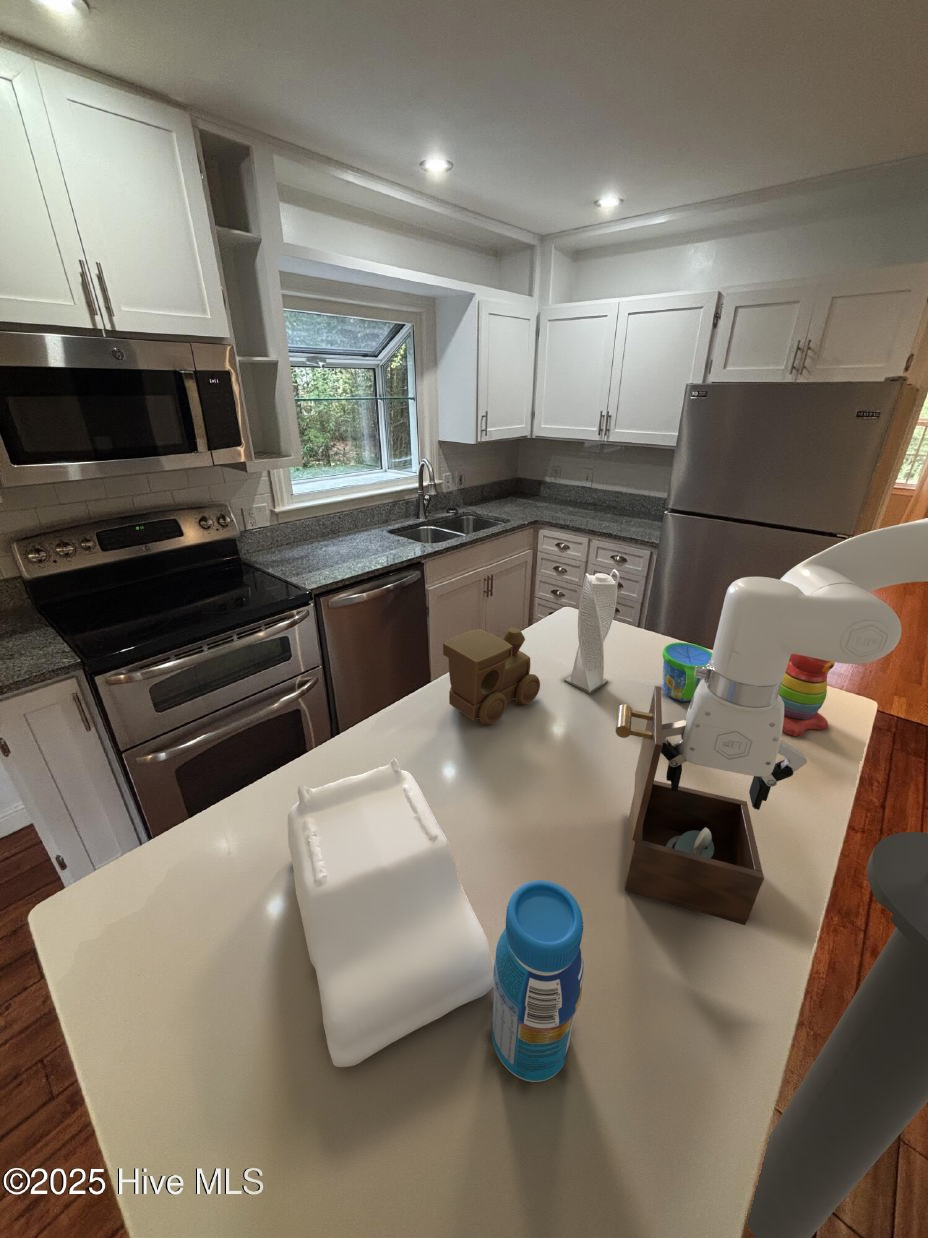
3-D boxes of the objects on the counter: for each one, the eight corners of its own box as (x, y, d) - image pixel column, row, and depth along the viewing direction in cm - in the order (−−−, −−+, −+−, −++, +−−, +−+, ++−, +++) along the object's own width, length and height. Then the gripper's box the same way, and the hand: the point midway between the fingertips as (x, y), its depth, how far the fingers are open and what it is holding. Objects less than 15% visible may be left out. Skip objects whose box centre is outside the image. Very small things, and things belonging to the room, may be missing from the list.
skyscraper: (612, 684, 113) (632, 568, 101) (592, 698, 108) (610, 577, 96) (581, 670, 119) (596, 558, 107) (561, 682, 114) (574, 566, 102)
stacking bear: (791, 738, 97) (820, 659, 89) (749, 709, 105) (772, 634, 98) (832, 728, 100) (863, 650, 92) (788, 700, 108) (813, 627, 101)
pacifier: (658, 867, 70) (705, 888, 67) (665, 834, 67) (714, 855, 64) (670, 831, 75) (714, 849, 72) (677, 800, 73) (722, 817, 70)
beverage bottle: (473, 1038, 52) (477, 914, 43) (521, 974, 58) (533, 854, 49) (540, 1110, 47) (559, 987, 38) (586, 1033, 52) (612, 910, 44)
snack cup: (707, 719, 102) (718, 677, 98) (653, 707, 106) (661, 666, 101) (705, 681, 115) (715, 642, 111) (657, 671, 119) (664, 633, 114)
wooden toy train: (477, 737, 96) (479, 663, 89) (439, 710, 104) (439, 640, 96) (544, 698, 108) (551, 630, 101) (506, 676, 116) (510, 612, 109)
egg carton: (410, 806, 80) (407, 740, 74) (504, 991, 56) (510, 914, 50) (287, 849, 73) (273, 779, 67) (333, 1086, 48) (317, 1008, 43)
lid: (661, 686, 67) (622, 679, 69) (662, 745, 56) (616, 735, 58) (640, 774, 74) (605, 766, 76) (638, 842, 63) (597, 831, 65)
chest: (731, 845, 74) (747, 801, 70) (745, 926, 63) (764, 878, 59) (628, 819, 78) (637, 776, 74) (624, 890, 67) (634, 843, 64)
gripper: (664, 686, 57) (643, 797, 65) (839, 714, 52) (795, 831, 60) (662, 656, 64) (644, 760, 71) (818, 678, 59) (781, 788, 66)
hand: (712, 792), depth 65 cm, fingers open, 9 cm apart
